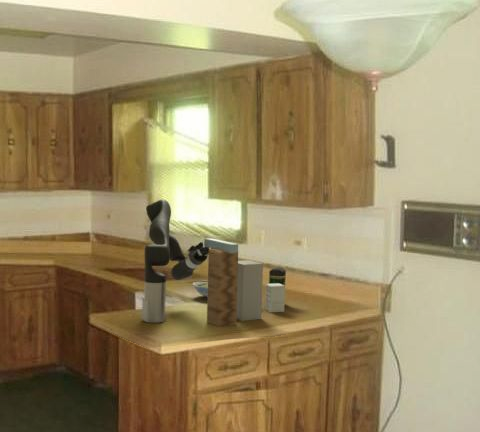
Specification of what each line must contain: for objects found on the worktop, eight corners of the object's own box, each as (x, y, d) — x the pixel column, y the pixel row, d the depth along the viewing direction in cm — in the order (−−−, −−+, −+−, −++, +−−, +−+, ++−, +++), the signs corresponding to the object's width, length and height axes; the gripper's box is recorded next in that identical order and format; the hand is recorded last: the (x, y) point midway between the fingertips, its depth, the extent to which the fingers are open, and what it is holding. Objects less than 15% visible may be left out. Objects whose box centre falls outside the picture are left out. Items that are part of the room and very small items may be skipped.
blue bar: (230, 252, 306) (231, 244, 306) (204, 246, 327) (204, 238, 327) (238, 252, 308) (238, 244, 308) (211, 246, 329) (211, 238, 328)
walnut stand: (217, 326, 311) (219, 251, 309) (206, 321, 320) (208, 249, 317) (236, 324, 316) (238, 251, 313) (224, 320, 324) (226, 248, 322)
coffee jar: (282, 307, 357) (283, 269, 356) (266, 306, 359) (267, 268, 358) (286, 303, 367) (287, 266, 365) (270, 302, 369) (271, 265, 367)
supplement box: (278, 309, 353) (279, 283, 352) (284, 312, 346) (285, 285, 345) (264, 309, 350) (265, 283, 349) (269, 312, 343) (270, 286, 342)
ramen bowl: (199, 303, 361) (200, 286, 361) (184, 295, 382) (184, 279, 381) (245, 300, 372) (246, 284, 371) (228, 293, 392) (228, 277, 392)
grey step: (242, 320, 324) (243, 264, 322) (228, 315, 334) (230, 261, 332) (261, 318, 329) (263, 263, 327) (247, 313, 339) (249, 260, 338)
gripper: (180, 250, 335) (194, 236, 323) (208, 249, 343) (223, 235, 330) (183, 266, 333) (198, 251, 320) (211, 264, 340) (226, 250, 327)
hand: (210, 243), depth 325 cm, fingers open, 8 cm apart
